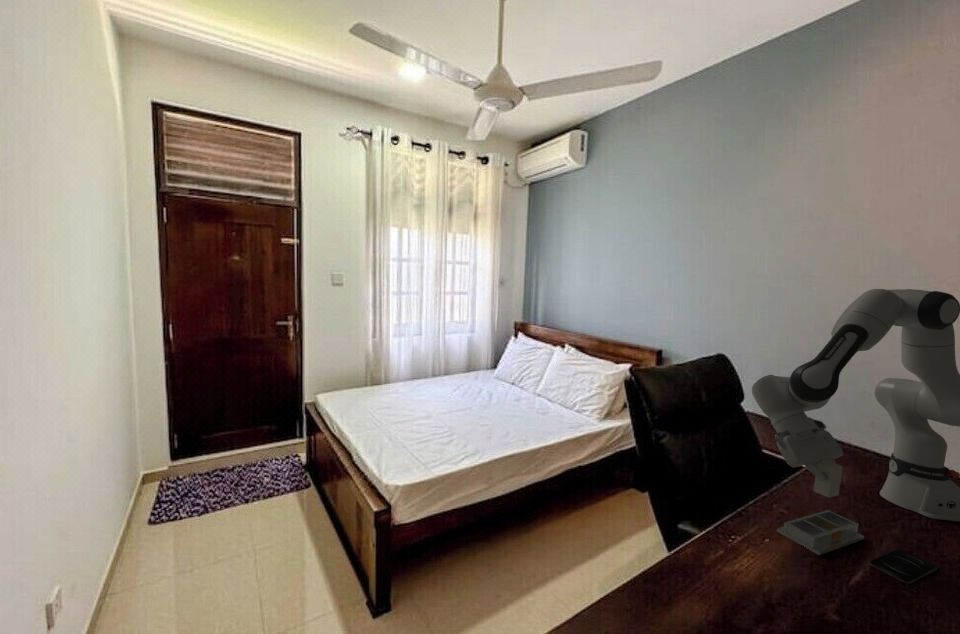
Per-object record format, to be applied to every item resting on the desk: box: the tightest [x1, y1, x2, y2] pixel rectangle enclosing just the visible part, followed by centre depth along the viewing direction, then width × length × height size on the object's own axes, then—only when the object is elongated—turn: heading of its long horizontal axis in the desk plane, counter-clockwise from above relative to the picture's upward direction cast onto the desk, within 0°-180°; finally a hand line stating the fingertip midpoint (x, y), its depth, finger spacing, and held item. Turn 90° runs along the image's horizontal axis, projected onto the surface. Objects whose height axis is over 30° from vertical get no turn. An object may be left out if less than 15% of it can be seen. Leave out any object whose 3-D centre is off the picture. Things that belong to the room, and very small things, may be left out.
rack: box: [776, 509, 865, 556], centre depth 110 cm, size 20×10×4 cm, turn 113°
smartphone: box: [869, 548, 937, 585], centre depth 99 cm, size 8×1×15 cm
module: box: [812, 461, 844, 498], centre depth 108 cm, size 4×4×8 cm
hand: (831, 478), depth 108 cm, fingers closed on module, 4 cm apart
